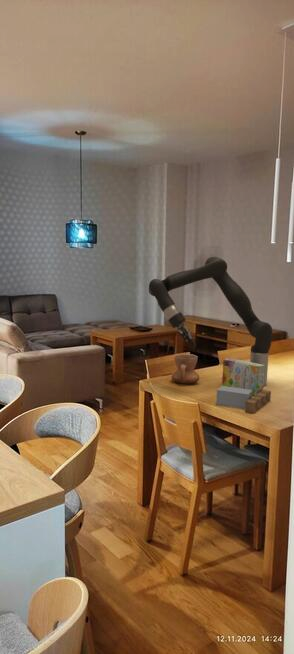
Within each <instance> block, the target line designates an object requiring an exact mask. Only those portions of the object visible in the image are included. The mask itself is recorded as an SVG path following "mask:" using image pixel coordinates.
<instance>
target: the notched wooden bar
mask: <svg viewBox="0 0 294 654" xmlns="http://www.w3.org/2000/svg"><path fill="white" fill-rule="evenodd" d="M271 395H272V391H271V390H267V389H263V391H261V392H260V393H258V394H257V395H255V396H252V398H251V399H249V400H248V401H246V405H245V409H244V412H245V413H247V414H253V415H254V414H255V413H256V412H258V411H259V410H260V409H261V408H262V407H264V406H265V405H266V404H268V403H269V402H271Z"/></svg>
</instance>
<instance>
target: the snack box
mask: <svg viewBox="0 0 294 654" xmlns="http://www.w3.org/2000/svg"><path fill="white" fill-rule="evenodd" d="M264 369H265V365H262V364H257V363H252V362H250V361H248V360H247V361H246V360H242V359H236V358H231V357H227V358H223V362H222V376H221V379H222V381H221V386H227V387H234V388H241V389H249V390H252V397H254V396H255V395H257V394H258V393H260V392H261V391H263V390H264V386H263V382H264Z"/></svg>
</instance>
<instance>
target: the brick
mask: <svg viewBox="0 0 294 654" xmlns="http://www.w3.org/2000/svg"><path fill="white" fill-rule="evenodd" d="M252 397H253V395H252V390H249V389H241V388H234V387H227V386H222V385H221V386H220V387H219V388H217V389H216V402H215V403H216V404H215V405H216V406H220V407H221V406H222V407H228V408H229V407H230V408H235V409H240V410H241V409H242V410H245V405H246V401H248V400H249V399H251V398H252Z"/></svg>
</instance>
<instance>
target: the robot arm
mask: <svg viewBox="0 0 294 654" xmlns="http://www.w3.org/2000/svg"><path fill="white" fill-rule="evenodd" d="M227 270H228V263H227V262H226V261H225V260H224V259H223V258H221V257H217V256H211V257H208V258H207V259H206V260H205V263H204V265H202V266H199V267H197V268H192V269H188V270H181V271H179V272H175V273H172V274H170V275H168V276H166V277H165V278H164V279H159V278H153V279H152V280H150V282H149V284H148V293H149V295H151V297H152V296H153V297H155V299H156V301H157V304H158V306H159V308H160V310H161V311H162V313H163V315H164V316H165V318H166V320H167V322H168V323H169V325H170V326H171V328H172V329H175V328H177V334H179V335H180V337H182V339H184V340H185V341H186V342H187V343H188V345H189V346H190V347H191V348H194V347H195V346H197V345H196V342H195V341H194V339H193V335H192V333H191V330H190V328H188V326H187V325H185V322H186V317H185V316H184V314H183V313H182V311H181V310H180V308H179V307H178V306H177V305H176V303H175V301H174V300H173V298H172V297H171V296H170V294H169V292H170V291H171V292H172V291H173V290H175V289H179V288H181V287H184V286H187V285H190V284H193V283H195V282H199V281H202V280H208V279H212V280H214V282H215V283H216V284H217V286H218V287H219V289H220V290H221V292H222V293H223V295H224V297H225V299H226V300H227V302H228V303H229V305H231V307H232V309H233V310H234V311H235V313H236V315H238V317H239V318H240V319H241V320H242V322H243V323H244V326H245V327H246V329H247V331H248V332H249V334H250V336H251V337H253V338H254V339H255V341H254V344H253V345H251V347H250V354H249V355H250V358H249V362H252V363H257V364H262V365H265V369H264V382H263V387H265V386H267V385H268V383H267V382H268V381H267V380H268V371H269V369H268V367H269V353H270V349H271V346H272V340H273V339H272V338H273V328H272V325H271V324H270V323H269V322H265V321H261V320H260V319H259V318H258V316H257V315H256V314H255V312H254V311H253V308H252V307H253V306H252V303H251V300H250V298H249V296H248V294H246V292H245V291H244V289H243V288H242V287H241V286H240V284H238V283H237V282H236V281H235V280H234V279H233V278H232V277H231V276H230V275H229V273H228V272H227Z"/></svg>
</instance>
